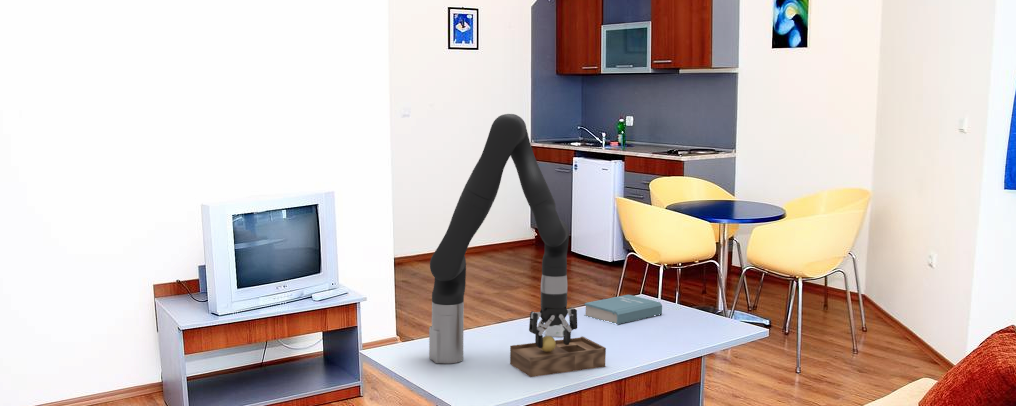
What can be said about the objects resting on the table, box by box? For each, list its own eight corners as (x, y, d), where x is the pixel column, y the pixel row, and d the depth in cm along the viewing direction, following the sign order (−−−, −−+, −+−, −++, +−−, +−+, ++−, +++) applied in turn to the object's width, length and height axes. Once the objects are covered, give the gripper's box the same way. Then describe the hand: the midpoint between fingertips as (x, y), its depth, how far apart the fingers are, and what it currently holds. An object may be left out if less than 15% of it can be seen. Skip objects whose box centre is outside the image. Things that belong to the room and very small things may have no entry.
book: (628, 307, 329) (628, 294, 328) (661, 316, 316) (662, 302, 316) (584, 317, 314) (584, 303, 314) (617, 326, 302) (618, 312, 301)
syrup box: (562, 337, 286) (563, 293, 284) (544, 336, 287) (545, 292, 285) (565, 332, 291) (566, 289, 289) (547, 331, 292) (548, 288, 291)
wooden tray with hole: (530, 377, 245) (530, 357, 244) (510, 363, 257) (510, 345, 256) (605, 366, 255) (605, 347, 255) (582, 354, 267) (582, 336, 266)
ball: (544, 354, 251) (544, 338, 251) (536, 350, 255) (536, 334, 255) (558, 353, 253) (558, 337, 252) (550, 348, 257) (551, 333, 257)
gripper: (537, 295, 246) (536, 352, 248) (582, 290, 252) (581, 346, 254) (525, 289, 253) (524, 345, 255) (569, 285, 259) (568, 339, 261)
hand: (553, 345), depth 254 cm, fingers open, 8 cm apart
